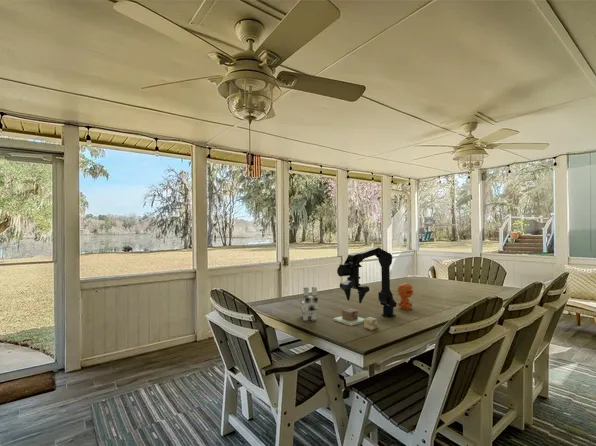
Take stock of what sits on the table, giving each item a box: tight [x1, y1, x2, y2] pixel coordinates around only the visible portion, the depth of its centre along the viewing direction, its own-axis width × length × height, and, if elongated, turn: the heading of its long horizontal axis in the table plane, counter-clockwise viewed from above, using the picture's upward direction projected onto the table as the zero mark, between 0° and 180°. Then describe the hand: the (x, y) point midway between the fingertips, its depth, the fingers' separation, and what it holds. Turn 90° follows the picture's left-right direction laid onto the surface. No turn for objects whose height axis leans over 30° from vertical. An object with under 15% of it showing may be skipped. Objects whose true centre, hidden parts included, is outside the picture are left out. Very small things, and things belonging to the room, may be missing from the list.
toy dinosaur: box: [397, 282, 414, 311], centre depth 214 cm, size 11×11×18 cm
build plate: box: [332, 315, 365, 326], centre depth 186 cm, size 14×14×1 cm
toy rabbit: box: [300, 286, 319, 322], centre depth 190 cm, size 8×18×20 cm, turn 10°
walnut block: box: [341, 308, 359, 321], centre depth 186 cm, size 6×6×5 cm
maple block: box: [363, 316, 378, 331], centre depth 173 cm, size 5×5×5 cm
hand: (354, 301), depth 183 cm, fingers open, 9 cm apart
